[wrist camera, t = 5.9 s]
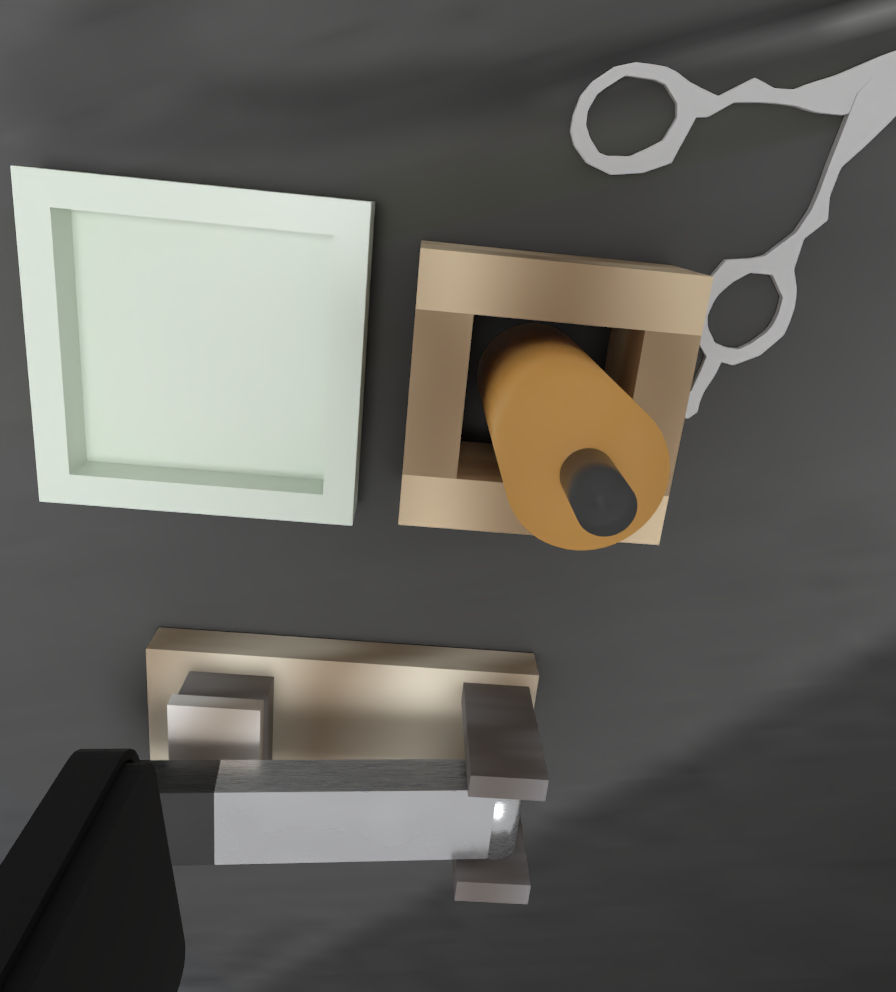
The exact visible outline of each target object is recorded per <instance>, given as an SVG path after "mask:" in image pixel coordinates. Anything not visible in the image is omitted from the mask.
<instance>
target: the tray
mask: <svg viewBox="0 0 896 992" xmlns="http://www.w3.org/2000/svg"><path fill="white" fill-rule="evenodd" d="M10 167H11V179H12V190H13V202H14V213H15V225H16V236H17V248H18V259H19V271H20V282H21V294H22V305H23V317H24V328H25V340H26V351H27V363H28V374H29V386H30V397H31V409H32V420H33V432H34V443H35V455H36V466H37V478H38V490H39V501H41V502H54V503H67V504H79V505H92V506H105V507H118V508H131V509H144V510H156V511H169V512H182V513H195V514H208V515H220V516H233V517H246V518H259V519H272V520H285V521H297V522H310V523H323V524H336V525H349V526H352V525H353V520H354V516H355V512H356V507H357V499H358V482H359V466H360V449H361V433H362V416H363V399H364V383H365V366H366V350H367V333H368V317H369V300H370V283H371V267H372V250H373V234H374V217H375V202H374V201H364V200H354V199H345V198H335V197H325V196H315V195H305V194H295V193H285V192H275V191H265V190H256V189H246V188H236V187H226V186H216V185H206V184H196V183H186V182H177V181H167V180H157V179H147V178H137V177H127V176H117V175H107V174H98V173H88V172H78V171H68V170H58V169H48V168H37V167H23V166H10Z"/></svg>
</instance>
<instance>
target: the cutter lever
mask: <svg viewBox="0 0 896 992" xmlns="http://www.w3.org/2000/svg"><path fill="white" fill-rule="evenodd" d="M140 763H151V764H152V765H153V766H154V768H155V771H156V776H157V782H158V788H159V794H160V799H161V805H162V811H163V817H164V823H165V828H166V834H167V840H168V846H169V852H170V858H171V863H172V866H180V865H224V864H269V863H313V862H358V861H402V860H447V859H493V860H497V859H503V858H505V857H507V856H509V855H510V854H511V853H512V852H513V850H514V848H515V842H516V836H517V829H518V823H519V817H520V810H521V804H522V800H515V799H498V798H482V797H468V790H467V776H466V761H465V759H348V760H140Z"/></svg>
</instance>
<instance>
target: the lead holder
mask: <svg viewBox="0 0 896 992" xmlns="http://www.w3.org/2000/svg"><path fill="white" fill-rule="evenodd" d="M712 282H713V277H712V276H709V275H705V274H702V273H698V272H695V271H691V270H687V269H684V268H680V267H677V266H673V265H666V264H656V263H646V262H635V261H625V260H615V259H605V258H595V257H585V256H575V255H565V254H554V253H544V252H534V251H524V250H514V249H504V248H494V247H484V246H473V245H463V244H453V243H443V242H433V241H423V240H421V248H420V260H419V273H418V285H417V298H416V310H415V323H414V335H413V348H412V360H411V373H410V385H409V398H408V410H407V423H406V435H405V448H404V460H403V472H402V485H401V497H400V510H399V522H398V525H409V526H422V527H435V528H448V529H460V530H473V531H486V532H499V533H512V534H524V535H533V534H532V533H530V532H529V531H528V530H527V529H526V528H525V527H524V526H523V525H522V524H521V523H520V521H519V520H518V519H517V517H516V516H515V514H514V512H513V511H512V509H511V507H510V504H509V501H508V499H507V495H506V492H505V488H504V484H503V480H502V477H501V473H500V469H499V465H498V462H497V458H496V454H495V451H494V447H493V444H489V443H478V442H466V441H461V431H462V421H463V412H464V402H465V393H466V383H467V374H468V364H469V355H470V345H471V336H472V326H473V317H474V314H475V315H486V316H496V317H507V318H518V319H528V320H539V321H549V322H560V323H571V324H581V325H592V326H603V327H611V331H610V337H609V343H608V349H607V355H606V362H605V368H604V372H605V373H606V374H607V375H608V376H609V377H610V378H611V379H612V380H613V381H614V382H616V383H617V384H618V385H619V386H620V387H621V388H622V389H623V390H624V391H625V392H626V393H627V394H628V395H629V396H630V397H631V398H632V399H633V400H634V401H635V402H636V403H637V404H638V405H639V406H640V407H641V408H642V409H643V410H644V411H645V412H646V413H647V414H648V415H649V416H650V417H651V418H652V419H653V421H654V422H655V423H656V424H657V426H658V427H659V429H660V431H661V432H662V434H663V437H664V439H665V441H666V444H667V448H668V452H669V459H670V474H669V481H668V485H667V489H666V492H665V494H664V497H663V499H662V501H661V503H660V505H659V507H658V508H657V510H656V512H655V513H654V514H653V515H652V517H651V518H650V519H649V520H648V521H647V522H646V523H645V524H644V526H643V527H641V528H640V529H639V530H638V531H636V532H635V533H634V534H632V535H631V536H629V537H628V538H626V539H624V540H622V541H620V542H626V543H639V544H652V545H659V542H660V537H661V532H662V527H663V523H664V518H665V513H666V508H667V503H668V498H669V493H670V488H671V483H672V478H673V474H674V469H675V464H676V459H677V454H678V449H679V444H680V439H681V434H682V429H683V424H684V420H685V415H686V410H687V405H688V400H689V395H690V390H691V385H692V380H693V375H694V371H695V366H696V361H697V356H698V351H699V346H700V341H701V336H702V331H703V326H704V322H705V317H706V312H707V307H708V302H709V297H710V292H711V287H712Z"/></svg>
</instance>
